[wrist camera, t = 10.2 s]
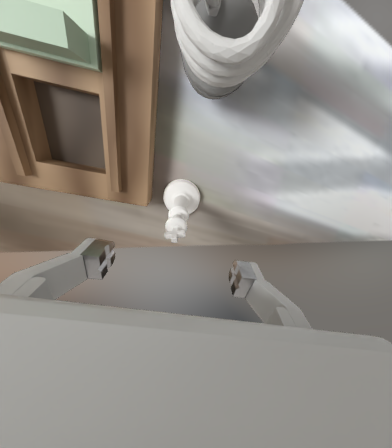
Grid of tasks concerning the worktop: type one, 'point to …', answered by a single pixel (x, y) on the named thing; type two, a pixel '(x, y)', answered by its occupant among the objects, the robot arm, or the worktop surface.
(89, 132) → the board
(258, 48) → the light bulb
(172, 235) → the chess piece
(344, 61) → the worktop surface
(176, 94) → the worktop surface
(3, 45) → the cover
